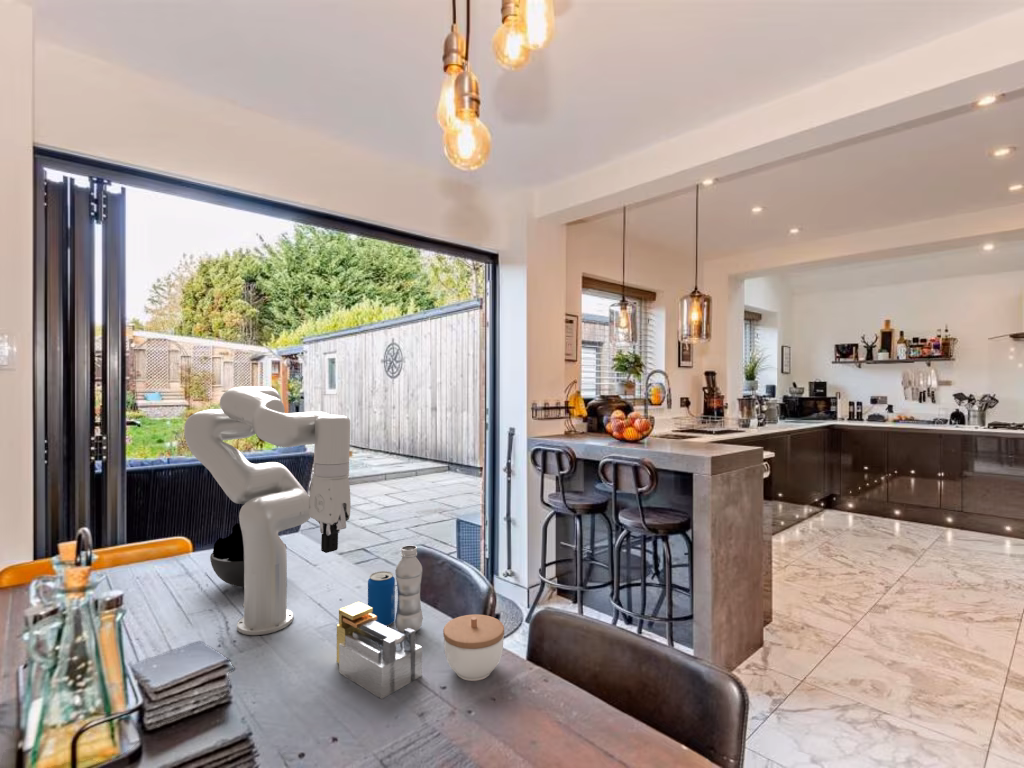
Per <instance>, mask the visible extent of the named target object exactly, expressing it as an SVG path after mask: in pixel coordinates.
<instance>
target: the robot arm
mask: <svg viewBox="0 0 1024 768" xmlns="http://www.w3.org/2000/svg"><path fill="white" fill-rule="evenodd" d="M219 406H220V408H212V409H211V408H210V409H205V410H200V411H196V412H194V413H192V414H191V415H190V416H189V417H188V418H187V419H186V421H185V423H184V431H183V432H184V439H185V442H186V444H187V447H188V450H189V451H190V453H191V454H192V455H193V457H195V458H196V460H198V462H200V463H201V465H202V466H204V467H205V468H206V469H207V470H208V471H209V473H210V474H211V475H212V477H213V478H214V479H215V481H216V482H217V484H218V485H219V487H221V489H222V490H223V492H224V494H225V495H226V496H227V497H228V498H229V500H230V501H232V502H233V503H235V504H236V505H237V504H238V505H242V506H241V508H240V510H239V515H238V518H239V519H238V520H239V523H240V526H241V531H242V536H243V544H244V587H243V604H242V607H243V616H242V617H241V618H240V619H239V620H238V621H237V623H236V630H237V632H239V633H240V634H243V635H247V636H260V635H267V634H272V633H275V632H278V631H281V630H283V629H285V628H287V627H288V626H289V625H291V623H292V622H293V621H294V613H293V611H292V610H290V609H287V607H288V605H287V604H288V603H287V602H288V600H287V599H288V598H287V597H288V595H287V594H288V583H287V582H288V581H287V580H288V577H287V576H288V570H287V566H288V564H287V562H288V559H287V558H288V555H287V549H286V547H285V544H286V543H285V544H284V541H283V540H282V538H281V537H280V535H279V533H280V532H282V531H286V530H289V529H291V528H295V527H298V526H301V525H304V524H305V523H307V522H308V521H309V520H310V519H313V520H315V521H316V522H317V523H318V524H319V531H320V533H321V539H320V540H321V543H320V544H321V545H320V551H321V552H322V553H325V554H328V553H332V552H334V551H337V550H338V549H339V534H340V532H341V530H345V529H346V528H347V522H348V521H349V520H350V518H351V517H350V516H351V506H352V505H351V504H352V503H351V486H350V481H349V479H350V478H349V476H350V452H351V450H350V448H351V447H350V446H351V445H350V444H351V442H350V441H351V420H350V418H349V417H348V416H346V415H343V414H342V415H341V414H330V413H328V412H325V411H302V412H289V413H287V412H285V411H286V410H285V409H286V408H285V405H284V403H283V400H282V397H281V395H280V393H279V392H278V391H277V389H275V388H273V387H270V386H266V385H265V386H264V385H263V386H257V385H256V386H237V387H231V388H229V389H227V390H226V391H225V392H224V393H223V394H222V396H221V397H220V399H219ZM255 435H256V436H257V437H258V438H259V439H260V440H262V441H264V442H266V443H268V444H271V445H273V446H277V447H281V448H292V447H299V446H306V445H308V446H309V445H314V449H313V450H314V451H313V453H314V454H313V475H312V478H311V483H310V489H309V490H310V491H309V493H308V492H307V491H306V490H305V488H304V487H303V485H301V483H300V481H298V479H297V478H296V477H295V476H294V474H293V473H292V472H291V471H290V470H289V469H288V468H287V467H286V466H285V465H284V464H282V463H280V462H276V461H268V462H260V463H252V462H250V461H249V460H248V459H247V458H246V457H245V455H244V454H243V452H241V451H240V450H239V449H238V448H236V447H234V446H233V445H231V444H229V443H227V442H225V441H231V440H232V441H233V440H239V439H241V440H242V439H247V438H250V437H251V438H252V437H253V436H255Z"/></svg>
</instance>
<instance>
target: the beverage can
mask: <svg viewBox="0 0 1024 768" xmlns="http://www.w3.org/2000/svg"><path fill="white" fill-rule="evenodd" d="M395 597H396V577H394V573H392V572H391V571H387V570H386V571H385V570H382V571H375V572H373V573H371V574H370V575H369V579H368V580H367V606H370V607H372V608H373V612H372V613H371V614H374V615H376V616H377V620H375V621H376V622H379V623H381V624H383V625H385V626H388V627H390V626H391V625H392V624H393V623H395V619H396V611H395V610H396V605H395V604H396V598H395ZM389 625H390V626H389Z"/></svg>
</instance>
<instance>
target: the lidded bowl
mask: <svg viewBox="0 0 1024 768" xmlns="http://www.w3.org/2000/svg"><path fill="white" fill-rule="evenodd" d="M442 630H443V631H442V632H443V633H442V634H443V646H444V647H443V648H444V654H445V659H446V661H447V664H448V665H449V667H450V668H451V670H452V671H453V672H454V673H456V675H457V677H458V678H460V679H462V680H464V681H467V682H478V681H482V680H484V679H486V678H488V677H490V675H491V673H492V672H493V671H494V670H495V669H496V668H497V666H498V664H499V663H500V661H501V658H502V654H503V649H504V641H505V640H504V635H505V626H504V624H503V622H501V620H499V619H498V618H495V617H493V616H490V615H486V614H478V613H477V614H466V615H460V616H458V617H457V616H456V617H454V618H453V619H451V620H449V621H448V622H446V624H445V625H444V627H443V629H442Z"/></svg>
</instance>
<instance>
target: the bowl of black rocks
mask: <svg viewBox="0 0 1024 768" xmlns="http://www.w3.org/2000/svg"><path fill="white" fill-rule="evenodd" d="M231 529H232V532H231V533H230V534H229V535H228V536H226V537H224V538H223V537H219V538H217V539H216V541H215V542H214V544H213V549H212V550H213V551H212V553H210V556H209V559H210V565H211V567H212V570H213V572H214V573H215V575H216V576H217V577H218V578H219V579H220V580H221V581H223V582H225V583H226V584H228V585H231V586H234V587H238V588H240V587H241V588H244V544H243V536H242V531H241V526H240V522H236V523H235V524H234V525H233V526H232V527H231ZM283 543H284V542H283ZM284 544H285V547H286V550H287V544H286V543H284Z"/></svg>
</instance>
